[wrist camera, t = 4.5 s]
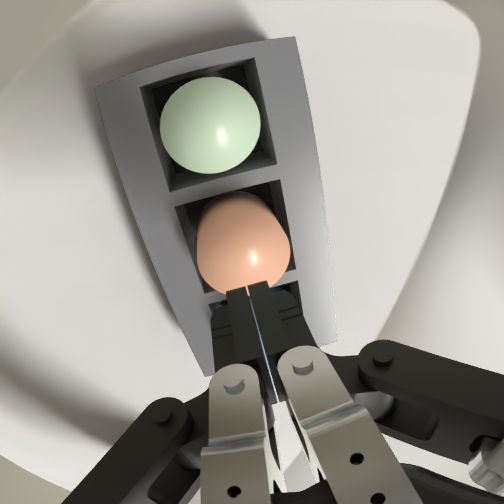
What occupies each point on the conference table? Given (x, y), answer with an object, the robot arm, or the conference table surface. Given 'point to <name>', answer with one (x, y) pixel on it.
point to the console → (225, 183)
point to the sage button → (210, 125)
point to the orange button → (240, 242)
